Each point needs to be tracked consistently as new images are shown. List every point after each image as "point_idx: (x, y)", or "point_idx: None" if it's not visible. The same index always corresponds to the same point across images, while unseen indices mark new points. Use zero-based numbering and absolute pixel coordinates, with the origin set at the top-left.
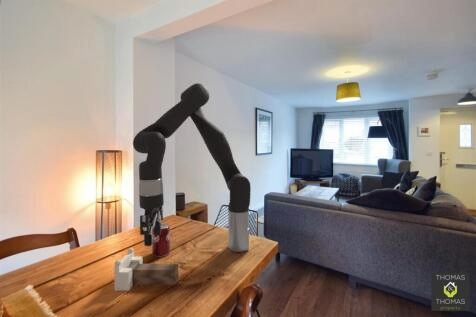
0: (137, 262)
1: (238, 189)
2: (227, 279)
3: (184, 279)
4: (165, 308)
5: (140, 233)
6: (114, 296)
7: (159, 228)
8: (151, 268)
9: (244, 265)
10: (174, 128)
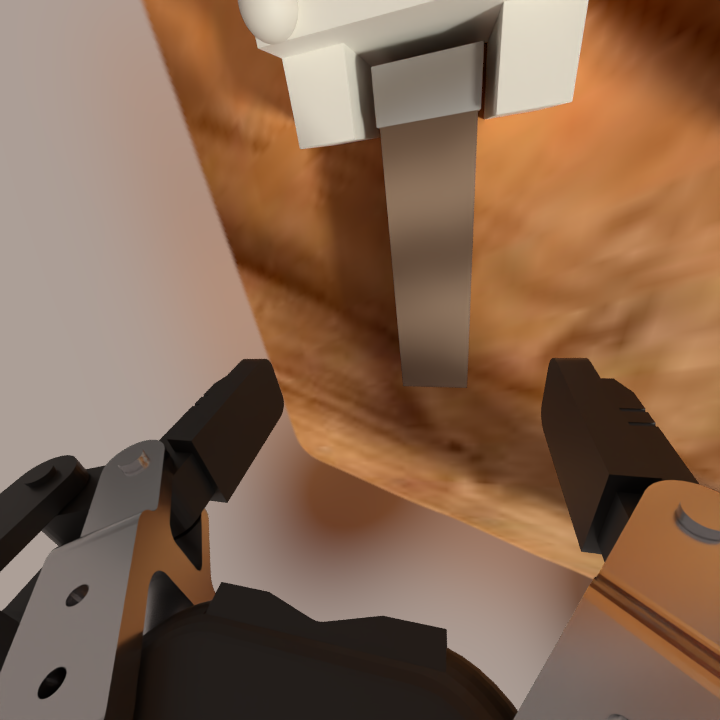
0: (495, 93)
1: None
2: (450, 489)
3: None
4: (281, 351)
5: (22, 481)
6: (280, 86)
7: (564, 489)
8: (408, 263)
9: (541, 534)
10: None
